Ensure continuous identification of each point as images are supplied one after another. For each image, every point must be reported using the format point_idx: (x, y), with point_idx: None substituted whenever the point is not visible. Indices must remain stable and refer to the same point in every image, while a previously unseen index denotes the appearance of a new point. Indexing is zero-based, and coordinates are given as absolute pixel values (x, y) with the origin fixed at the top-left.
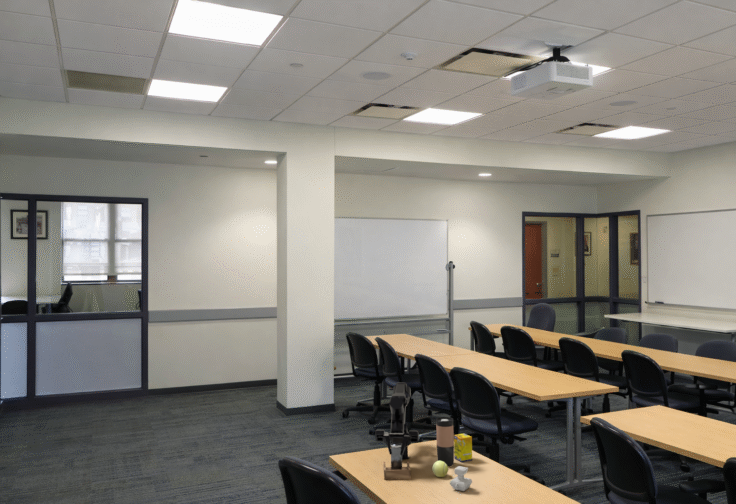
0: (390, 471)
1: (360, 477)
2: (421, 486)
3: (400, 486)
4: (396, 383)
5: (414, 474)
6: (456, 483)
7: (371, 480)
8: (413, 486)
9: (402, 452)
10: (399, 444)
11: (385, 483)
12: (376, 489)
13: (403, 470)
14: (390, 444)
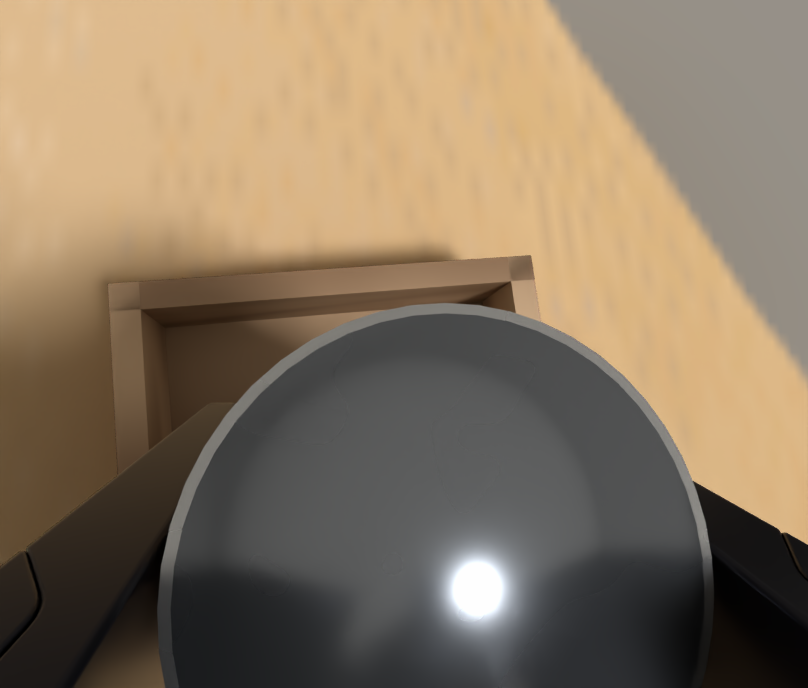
0: (437, 264)
1: (751, 350)
2: (9, 64)
3: (283, 79)
4: None
5: (86, 494)
6: None
7: (624, 262)
8: (119, 70)
9: (205, 416)
10: (297, 541)
11: (462, 172)
12: (536, 18)
13: (235, 277)
14: (698, 502)
